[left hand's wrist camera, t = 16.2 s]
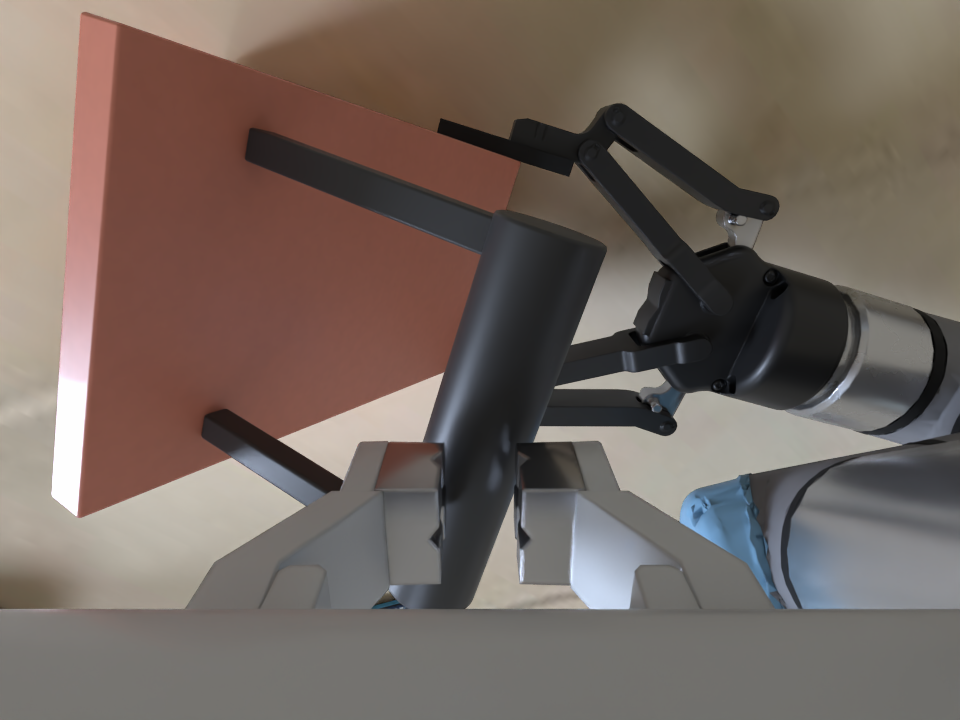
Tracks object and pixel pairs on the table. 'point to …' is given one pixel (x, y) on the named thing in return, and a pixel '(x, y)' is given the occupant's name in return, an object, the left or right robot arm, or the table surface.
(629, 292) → the table surface
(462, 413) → the lid
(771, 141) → the table surface
